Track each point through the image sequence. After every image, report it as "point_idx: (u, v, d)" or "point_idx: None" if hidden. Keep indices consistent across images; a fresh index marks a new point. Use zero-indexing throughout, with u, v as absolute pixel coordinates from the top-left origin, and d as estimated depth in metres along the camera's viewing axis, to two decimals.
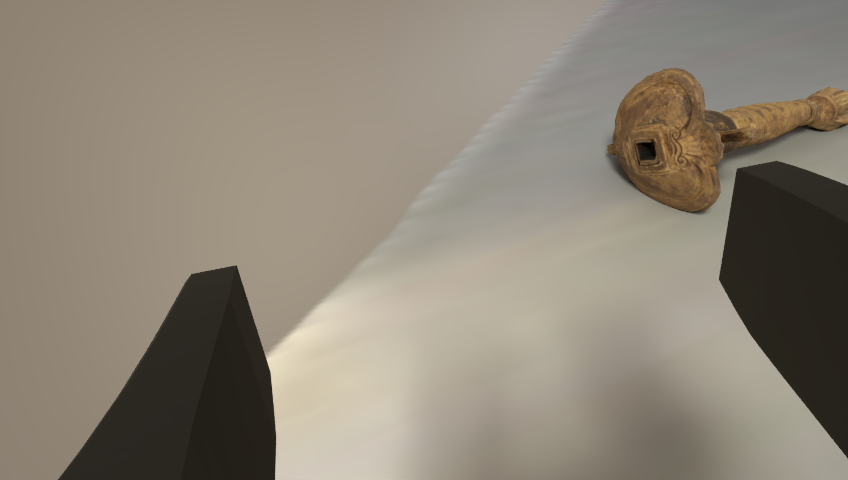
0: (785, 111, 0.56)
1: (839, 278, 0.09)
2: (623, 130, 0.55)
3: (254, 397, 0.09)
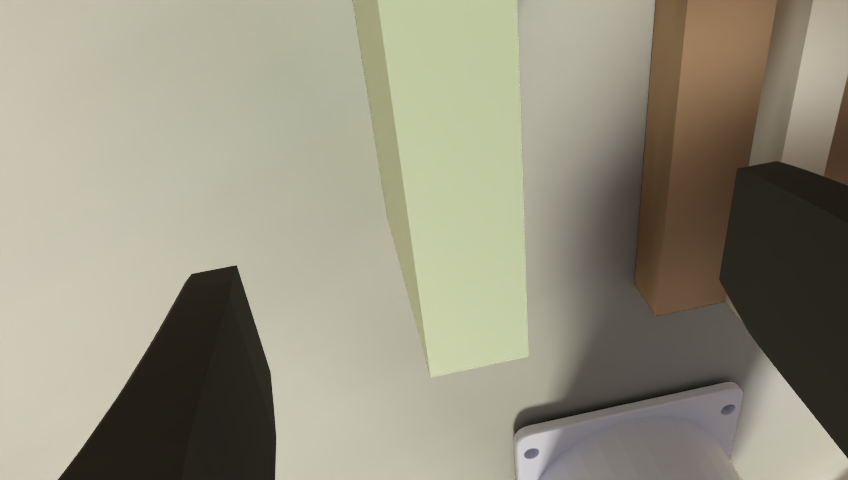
0: None
1: (839, 278, 0.09)
2: None
3: (254, 397, 0.09)
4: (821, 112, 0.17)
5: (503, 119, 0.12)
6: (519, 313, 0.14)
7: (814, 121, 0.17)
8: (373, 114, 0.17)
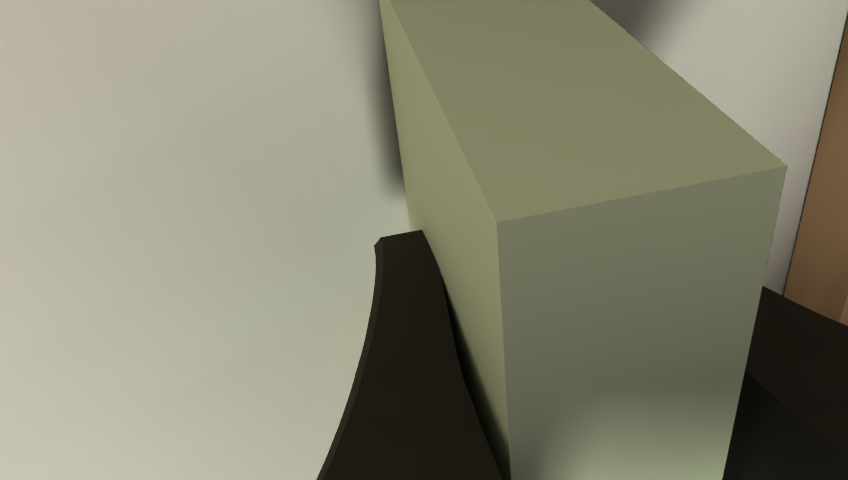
0: None
1: None
2: None
3: None
4: None
5: (701, 438, 0.07)
6: None
7: None
8: None
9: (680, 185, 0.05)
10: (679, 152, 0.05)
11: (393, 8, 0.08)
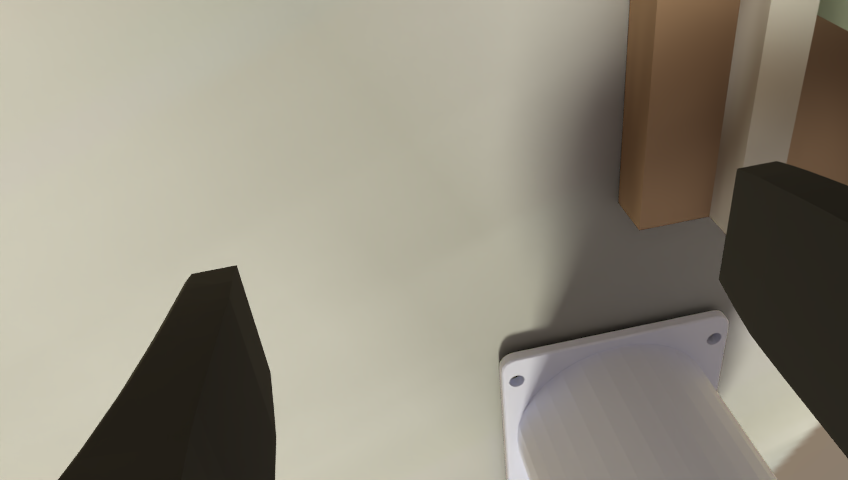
0: None
1: (839, 278, 0.09)
2: None
3: (254, 397, 0.09)
4: (801, 3, 0.17)
5: None
6: None
7: (794, 12, 0.17)
8: None
9: None
10: None
11: None
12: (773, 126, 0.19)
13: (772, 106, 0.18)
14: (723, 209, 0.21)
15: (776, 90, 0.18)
